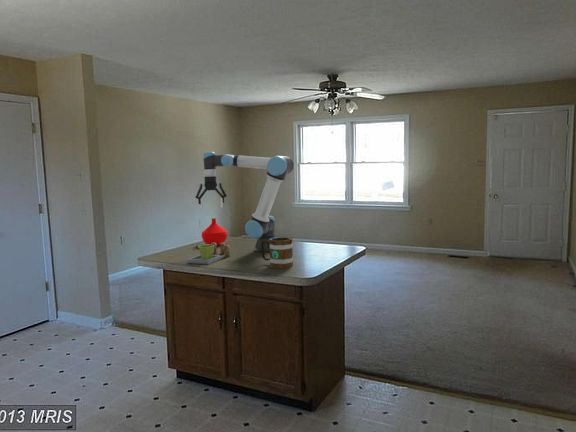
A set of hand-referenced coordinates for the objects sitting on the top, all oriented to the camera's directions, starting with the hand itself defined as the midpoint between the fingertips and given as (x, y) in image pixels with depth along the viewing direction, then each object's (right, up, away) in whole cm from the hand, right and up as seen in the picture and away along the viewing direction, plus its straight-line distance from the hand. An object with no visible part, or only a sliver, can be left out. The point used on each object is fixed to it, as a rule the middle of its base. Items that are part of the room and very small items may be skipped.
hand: (211, 208), depth 296 cm
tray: (0, -32, -27) cm, 42 cm away
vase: (-3, -26, +29) cm, 39 cm away
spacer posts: (+6, -30, -12) cm, 33 cm away
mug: (+44, -33, -42) cm, 69 cm away
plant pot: (+2, -31, -26) cm, 41 cm away
